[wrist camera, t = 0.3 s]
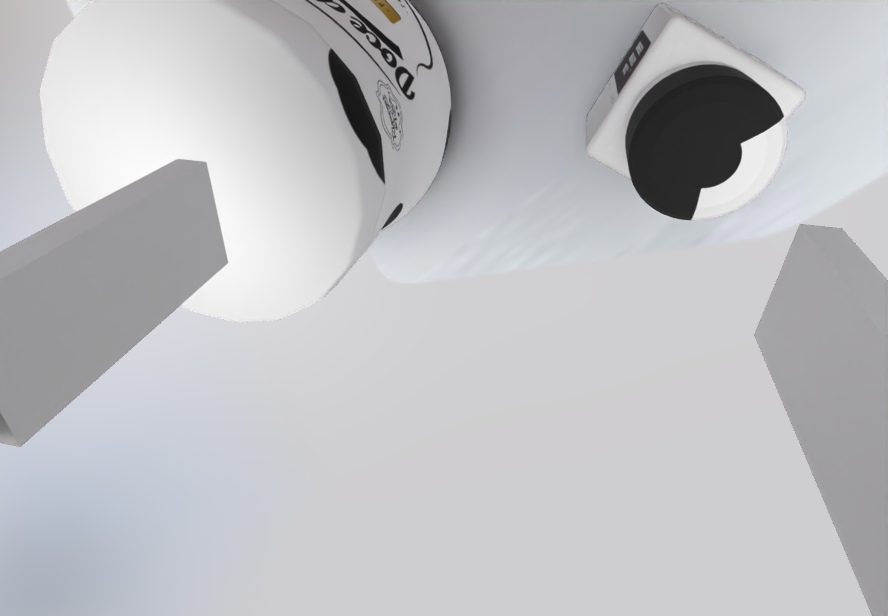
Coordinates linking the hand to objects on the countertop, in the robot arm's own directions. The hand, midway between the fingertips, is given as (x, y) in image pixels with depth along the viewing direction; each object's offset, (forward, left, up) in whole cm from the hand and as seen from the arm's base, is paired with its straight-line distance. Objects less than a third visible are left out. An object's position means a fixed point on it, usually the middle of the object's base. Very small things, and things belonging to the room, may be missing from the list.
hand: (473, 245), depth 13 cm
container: (+2, +8, -28) cm, 29 cm away
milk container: (+3, -14, -28) cm, 31 cm away
